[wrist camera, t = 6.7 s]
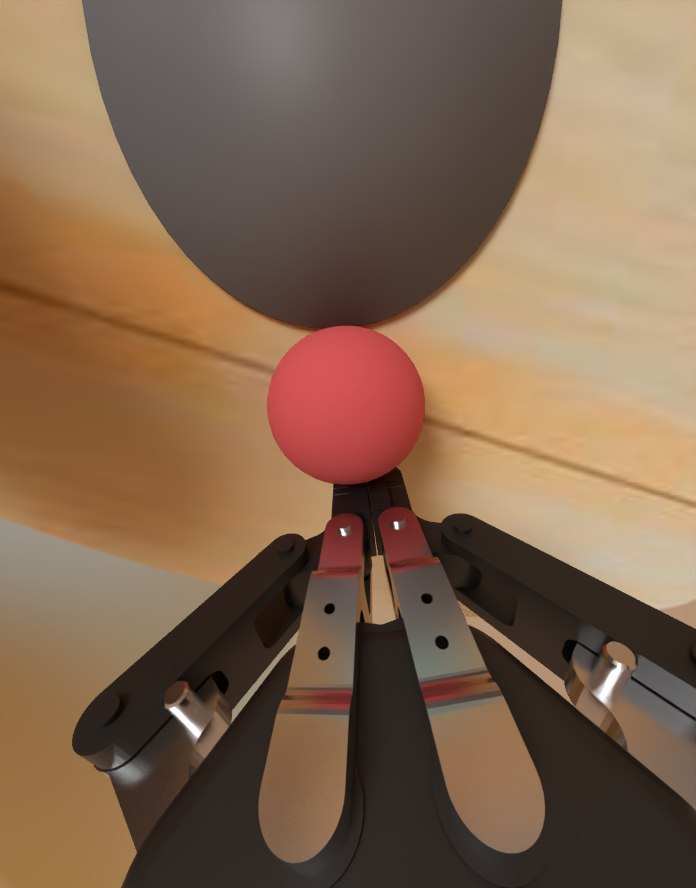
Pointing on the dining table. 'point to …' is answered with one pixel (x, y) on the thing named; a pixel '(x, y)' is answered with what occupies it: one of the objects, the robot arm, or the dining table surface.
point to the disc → (325, 137)
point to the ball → (346, 405)
